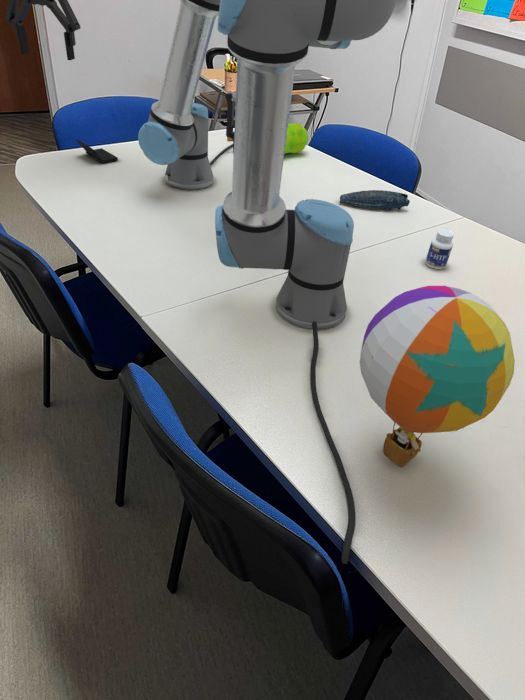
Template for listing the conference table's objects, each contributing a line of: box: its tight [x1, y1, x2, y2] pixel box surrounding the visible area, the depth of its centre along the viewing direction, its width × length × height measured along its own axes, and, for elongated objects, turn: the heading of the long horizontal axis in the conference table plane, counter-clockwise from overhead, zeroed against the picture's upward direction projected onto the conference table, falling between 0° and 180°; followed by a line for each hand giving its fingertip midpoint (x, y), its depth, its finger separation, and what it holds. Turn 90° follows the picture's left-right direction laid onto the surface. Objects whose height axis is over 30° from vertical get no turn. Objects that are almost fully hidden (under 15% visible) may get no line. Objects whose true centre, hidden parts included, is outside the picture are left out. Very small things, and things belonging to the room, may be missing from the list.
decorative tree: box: [226, 122, 309, 155], centre depth 188 cm, size 18×10×30 cm
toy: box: [359, 285, 516, 468], centre depth 73 cm, size 20×20×30 cm
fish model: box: [339, 189, 411, 211], centre depth 158 cm, size 7×21×5 cm, turn 84°
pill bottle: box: [424, 228, 455, 270], centre depth 130 cm, size 5×5×9 cm
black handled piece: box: [75, 138, 119, 164], centre depth 173 cm, size 12×7×10 cm
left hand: (48, 56), depth 143 cm, fingers open, 13 cm apart
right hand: (250, 168), depth 131 cm, fingers closed on brick, 5 cm apart
